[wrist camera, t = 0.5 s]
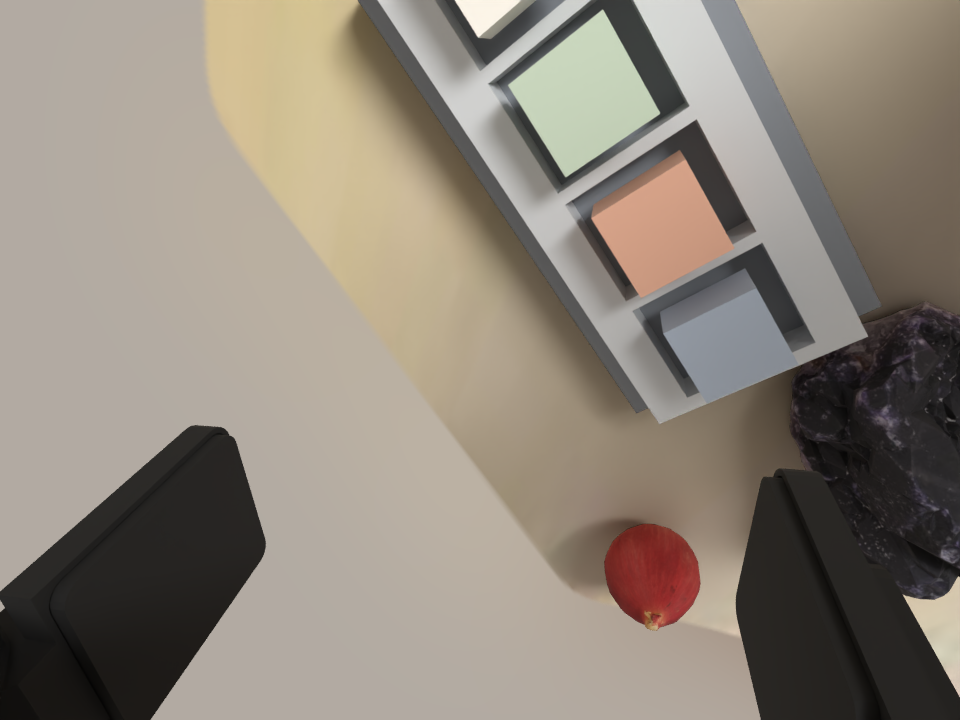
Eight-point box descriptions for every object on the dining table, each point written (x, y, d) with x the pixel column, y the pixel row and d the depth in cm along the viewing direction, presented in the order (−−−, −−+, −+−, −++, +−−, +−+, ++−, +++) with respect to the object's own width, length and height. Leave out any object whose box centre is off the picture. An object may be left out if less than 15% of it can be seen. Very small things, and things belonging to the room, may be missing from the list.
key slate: (745, 268, 26) (756, 287, 24) (784, 339, 27) (798, 364, 25) (659, 311, 28) (663, 333, 26) (700, 377, 29) (706, 403, 27)
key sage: (604, 13, 22) (602, 9, 20) (656, 107, 24) (660, 113, 21) (517, 82, 24) (507, 85, 22) (570, 166, 25) (565, 177, 23)
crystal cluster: (942, 236, 28) (1041, 318, 20) (1134, 412, 29) (1306, 560, 20) (724, 393, 35) (730, 500, 27) (881, 529, 36) (933, 672, 28)
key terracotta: (679, 149, 24) (685, 159, 22) (724, 231, 25) (734, 248, 23) (593, 204, 26) (591, 218, 24) (639, 278, 27) (641, 298, 25)
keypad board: (603, -252, 22) (600, -308, 18) (866, 291, 29) (899, 323, 26) (366, -9, 27) (329, -17, 24) (635, 395, 35) (637, 433, 31)
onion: (708, 547, 39) (726, 653, 32) (631, 569, 41) (633, 672, 35) (669, 486, 37) (679, 584, 30) (591, 513, 40) (585, 609, 33)
